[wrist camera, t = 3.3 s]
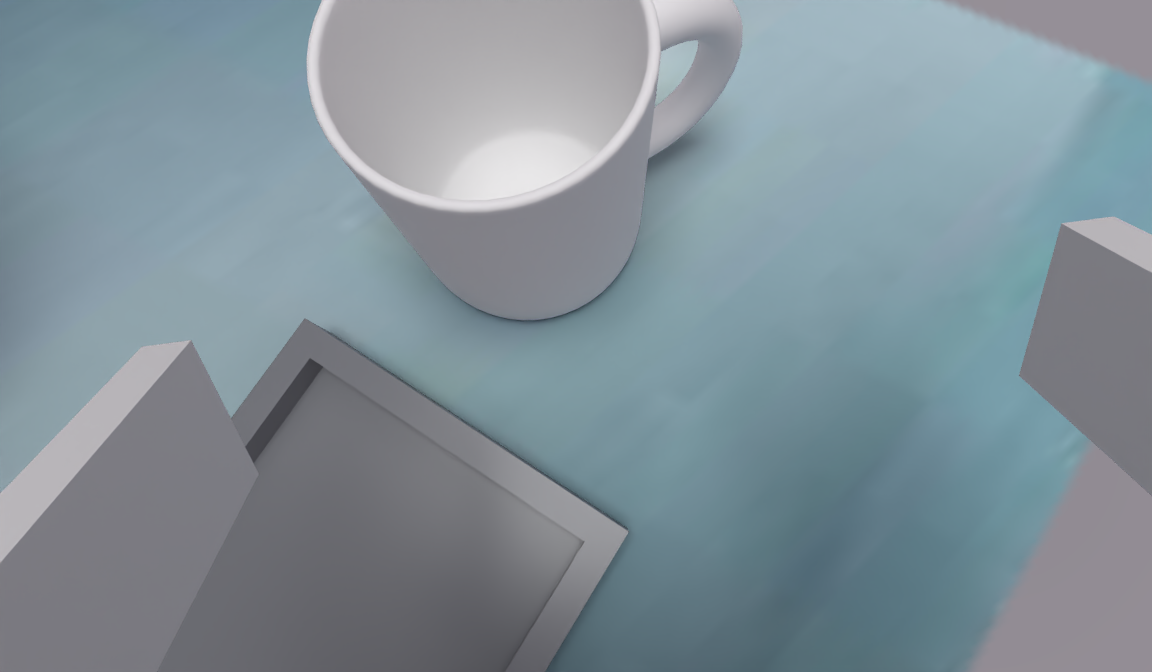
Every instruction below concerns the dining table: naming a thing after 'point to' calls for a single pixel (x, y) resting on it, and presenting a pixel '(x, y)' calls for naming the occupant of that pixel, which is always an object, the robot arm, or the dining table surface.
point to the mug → (513, 129)
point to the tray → (386, 535)
